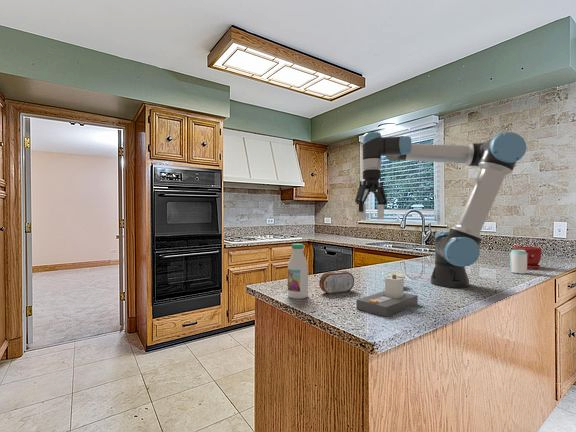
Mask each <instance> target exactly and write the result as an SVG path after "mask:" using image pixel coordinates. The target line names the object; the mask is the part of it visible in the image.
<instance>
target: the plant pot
mask: <svg viewBox="0 0 576 432" xmlns="http://www.w3.org/2000/svg"><path fill="white" fill-rule="evenodd" d="M512 250H525V251H526V253H527V270H537V269H540V267H541V265H540V264H539V263H540V262H541V258H542V247H540V246H539V247H538V246H512ZM512 250H511V251H512Z"/></svg>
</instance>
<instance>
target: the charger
mask: <svg viewBox="0 0 576 432" xmlns="http://www.w3.org/2000/svg"><path fill="white" fill-rule="evenodd" d="M387 277H388V276H387ZM387 277H384V291H385V296H387V297H391V298H396V299H399V298H402V297H403V293H404V287H403V278H398V277H396V275H392V276H389V277H388V278H387Z"/></svg>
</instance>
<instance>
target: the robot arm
mask: <svg viewBox="0 0 576 432" xmlns="http://www.w3.org/2000/svg"><path fill="white" fill-rule="evenodd" d="M381 134H382V133H380V132H377V131H376V132H375V131H371V132H366V133H364V135H363V136H362V180H359V187H358V190H357V192H356V193H357V194H356V197H355V200H354V201H355V203H356V204H357V205H358V220H359V221H366V220H367V218H366V217H367V212H366V207H367V205H366V201H367V199H368V196H369V195H370V193H372V194H373V195H374V198H375V199H376V201H377V203H378V204H377V206H376V207H377V209H376V210H377V217H376V218H377V220H385V214H384V212H385V205H387V203H388V200H387V196H386V193H385V189H384V182H383V181H379V180H381V178H382V170H381V169H382V156H384V157H385V158H386V159H387V160H388V161H390V162H396V161H412V162H413V161H414V162H429V163H430V162H432V163H433V162H436V163H453V164H465V165H466V166H467V167H479V168H480V170H479V172H478V175H477V177H476V179H475V182H474V184H473V187H472V188H471V191H470V193H469V195H468V197H467V200H466V202H465V205H464V207H463V210H462V211H461V214H460V217H459V218H458V220H457V223H456V225H455V226H452V227H450V229H449V231H448V230H447V231H437V232H436V233H435V235H434V268H433V270H432V274H431V276H430V284H433V285H435V286H440V287H444V288H445V287H446V288H456V289H457V288H458V289H459V288H460V289H461V288H467V287H469V286H470V279H469V276H468V274H467V271H466V268H465V267H469V266H471V265H474V264H475V263H476V262H477V261H478V259H479V257H480V255H481V254H480V253H481V250H480V245H481V242H482V240H483V237H482V236H481V232H482V228H483V227H484V225H485V222H486V220H487V217H488V216H489V213H490V211H491V208H492V206H493V204H494V202H495V199H496V198H497V195H498V193H499V191H500V188H501V186H502V184H503V182H504V180H505V178H506V176H507V175H510V174H512V172H513V170H514V168H515V167H516V164H517V162H518V161H520V160H521V159H522V158H523V157H524V155H525V154H526V152H527V142H526V140H525V139H524V138H523V136H521V135H520V134H518V133H517V132H512V131H505V132H502V133H498V134H496V135H495V136H493V137H492V138H490V139H489V140H486V141H483V142H478V143H477V142H476V143H472V142H471V143H469V144H468V145H463V144H462V145H461V144H460V145H458V144H431V143H412V137H411V136H408V135H405V136H404V135H401V136H386V137H383V136H382V135H381Z"/></svg>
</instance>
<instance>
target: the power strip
mask: <svg viewBox="0 0 576 432" xmlns="http://www.w3.org/2000/svg"><path fill="white" fill-rule="evenodd" d="M418 296H419V295H417V294H412V293H406V292H403V297H402V298H399V299H396V298H391V297H387V296H385V290H384V291H380V292H377V293H374V294H371V295H368V296H364V297H361V298H358V299H357V298H356V300H355V301H356V310H360V311H364V312H367V313H370V314H375V315H378V316H380V317H386V318H387V317H390V316H392V315H395V314H397V313H400V312H402V311H405V310H407V309H410V308H412V307H414V306H417V305H418V303H419V302H418V298H419V297H418Z"/></svg>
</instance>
